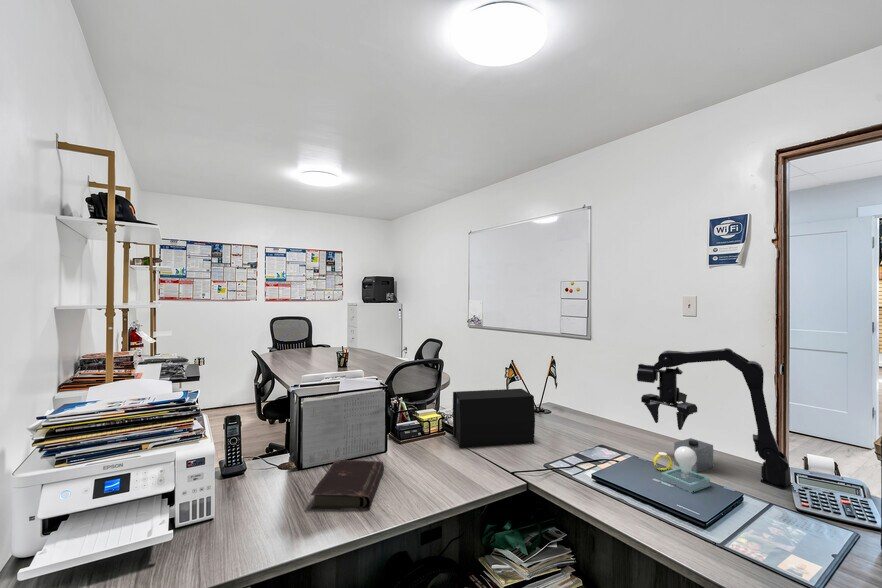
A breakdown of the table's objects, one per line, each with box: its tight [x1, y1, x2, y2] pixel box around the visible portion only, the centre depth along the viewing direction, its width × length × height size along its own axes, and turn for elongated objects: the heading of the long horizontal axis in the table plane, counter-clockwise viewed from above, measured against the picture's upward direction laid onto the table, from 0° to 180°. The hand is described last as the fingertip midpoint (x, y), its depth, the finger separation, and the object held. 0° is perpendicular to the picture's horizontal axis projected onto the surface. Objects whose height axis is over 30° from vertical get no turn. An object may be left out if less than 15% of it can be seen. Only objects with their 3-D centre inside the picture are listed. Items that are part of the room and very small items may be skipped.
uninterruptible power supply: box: [452, 388, 536, 449], centre depth 176 cm, size 16×34×20 cm, turn 99°
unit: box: [673, 437, 714, 474], centre depth 148 cm, size 8×10×9 cm
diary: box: [310, 459, 385, 511], centre depth 131 cm, size 19×25×5 cm
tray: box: [660, 466, 711, 494], centre depth 134 cm, size 10×10×2 cm
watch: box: [653, 451, 673, 472], centre depth 144 cm, size 6×3×6 cm, turn 90°
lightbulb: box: [675, 446, 697, 479], centre depth 134 cm, size 6×6×11 cm
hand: (668, 426), depth 152 cm, fingers open, 9 cm apart
